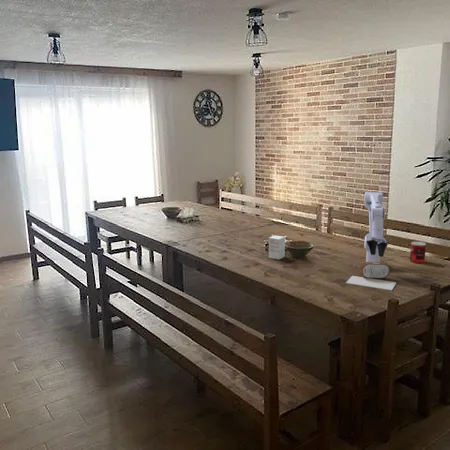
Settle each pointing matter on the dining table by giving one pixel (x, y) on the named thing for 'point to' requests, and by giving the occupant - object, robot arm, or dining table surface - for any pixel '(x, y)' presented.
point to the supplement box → (276, 247)
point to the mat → (371, 283)
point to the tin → (375, 270)
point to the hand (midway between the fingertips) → (377, 255)
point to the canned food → (417, 252)
